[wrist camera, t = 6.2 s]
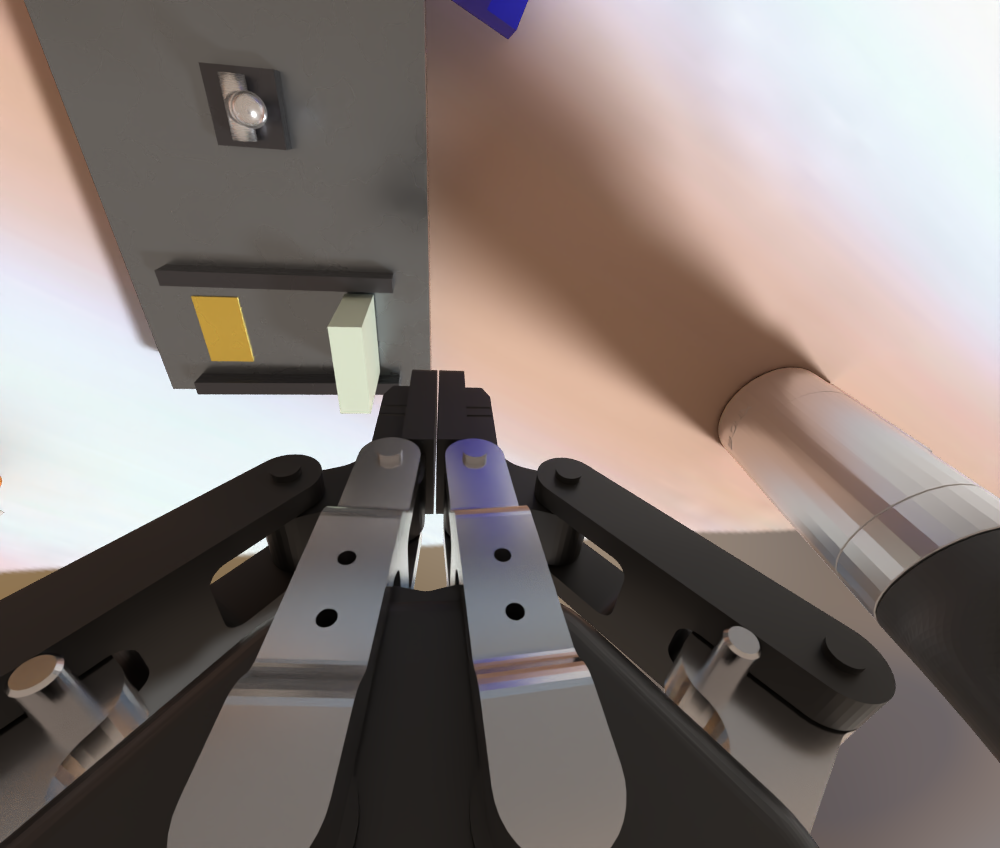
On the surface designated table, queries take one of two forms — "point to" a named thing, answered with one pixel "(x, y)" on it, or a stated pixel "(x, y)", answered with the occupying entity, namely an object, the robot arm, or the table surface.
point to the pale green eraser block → (355, 353)
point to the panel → (257, 176)
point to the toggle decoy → (241, 107)
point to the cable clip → (496, 13)
